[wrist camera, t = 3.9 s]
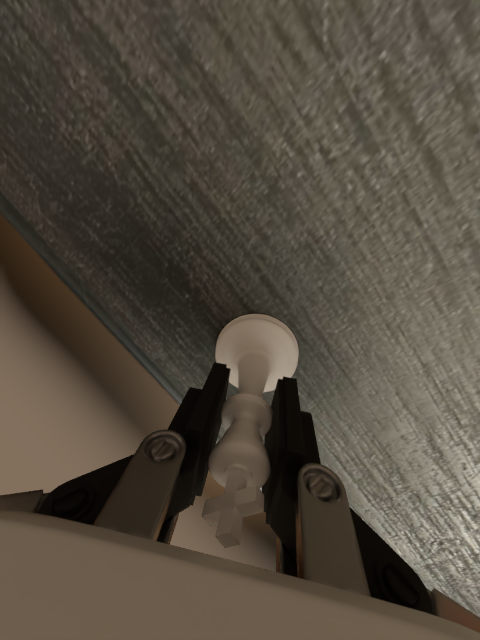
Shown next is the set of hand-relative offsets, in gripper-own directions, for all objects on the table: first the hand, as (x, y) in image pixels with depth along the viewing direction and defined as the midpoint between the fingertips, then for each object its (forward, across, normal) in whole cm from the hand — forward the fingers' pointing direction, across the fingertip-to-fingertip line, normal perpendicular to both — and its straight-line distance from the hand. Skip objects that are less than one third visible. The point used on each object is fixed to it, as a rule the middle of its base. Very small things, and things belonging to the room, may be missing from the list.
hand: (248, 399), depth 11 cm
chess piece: (+5, 0, 0) cm, 5 cm away
